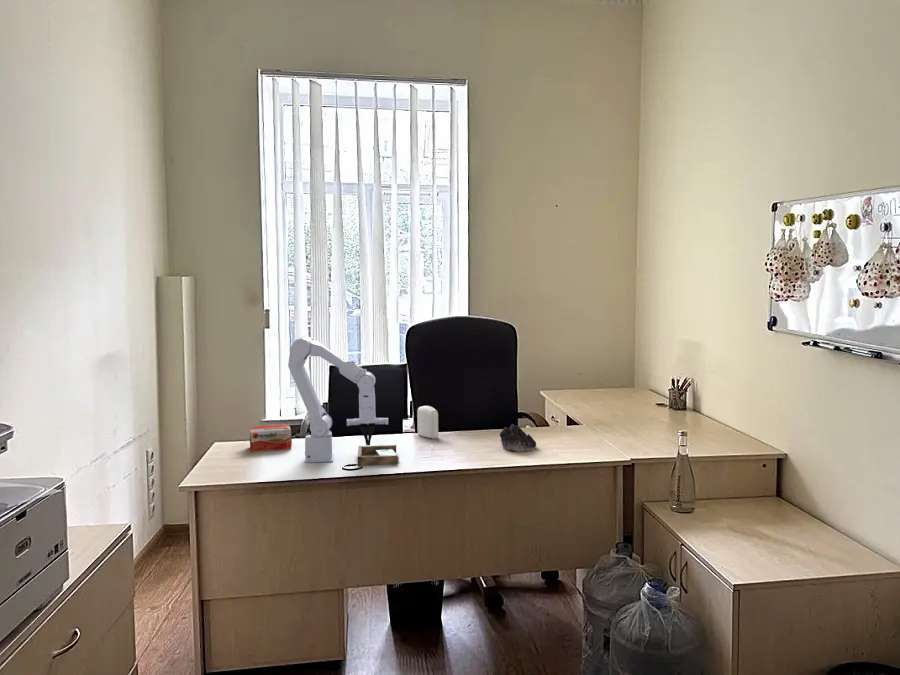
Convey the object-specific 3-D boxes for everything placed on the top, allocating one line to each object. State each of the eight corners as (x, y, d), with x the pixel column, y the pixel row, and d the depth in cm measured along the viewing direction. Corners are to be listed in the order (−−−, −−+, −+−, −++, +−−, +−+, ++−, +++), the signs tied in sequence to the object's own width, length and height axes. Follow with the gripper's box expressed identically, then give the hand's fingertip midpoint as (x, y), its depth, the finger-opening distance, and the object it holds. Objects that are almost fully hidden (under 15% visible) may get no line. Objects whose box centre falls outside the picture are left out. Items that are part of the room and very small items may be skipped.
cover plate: (382, 464, 243) (382, 457, 242) (375, 456, 253) (375, 450, 253) (398, 463, 244) (398, 456, 244) (391, 455, 255) (391, 448, 255)
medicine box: (250, 452, 259) (249, 431, 258) (249, 447, 266) (248, 427, 266) (292, 449, 263) (291, 428, 262) (290, 444, 271) (289, 424, 270)
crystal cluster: (536, 446, 269) (534, 420, 269) (536, 452, 255) (534, 425, 255) (502, 448, 270) (500, 422, 270) (500, 454, 257) (498, 427, 257)
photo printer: (415, 434, 285) (415, 405, 284) (424, 433, 287) (424, 403, 286) (431, 439, 277) (431, 408, 276) (439, 437, 280) (439, 407, 278)
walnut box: (357, 465, 240) (357, 457, 240) (358, 454, 255) (358, 446, 255) (397, 464, 241) (397, 455, 241) (396, 452, 257) (396, 444, 256)
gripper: (346, 409, 241) (347, 448, 243) (388, 408, 243) (388, 446, 244) (346, 405, 248) (347, 443, 250) (387, 404, 250) (388, 441, 251)
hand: (368, 444), depth 247 cm, fingers closed
